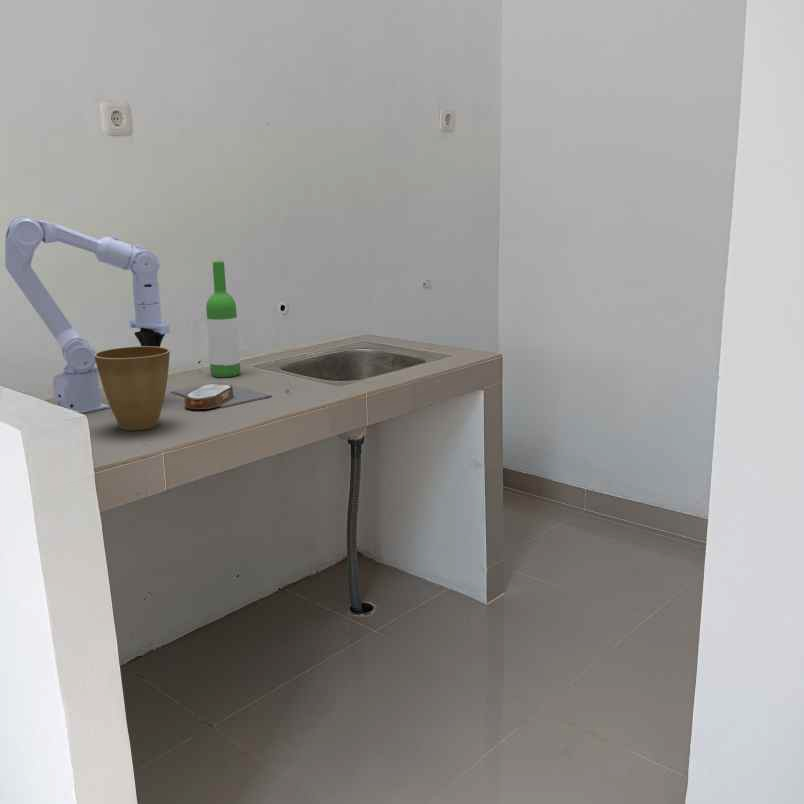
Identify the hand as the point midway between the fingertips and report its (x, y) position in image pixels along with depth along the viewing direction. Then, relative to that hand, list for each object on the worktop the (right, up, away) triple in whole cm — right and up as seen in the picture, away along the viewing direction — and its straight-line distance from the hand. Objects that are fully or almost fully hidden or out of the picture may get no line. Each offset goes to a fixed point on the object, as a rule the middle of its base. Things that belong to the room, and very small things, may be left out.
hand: (152, 361), depth 201 cm
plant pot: (+3, -15, -19) cm, 25 cm away
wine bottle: (+11, -3, +28) cm, 31 cm away
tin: (+9, -8, -1) cm, 12 cm away
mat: (+15, -8, +7) cm, 18 cm away
